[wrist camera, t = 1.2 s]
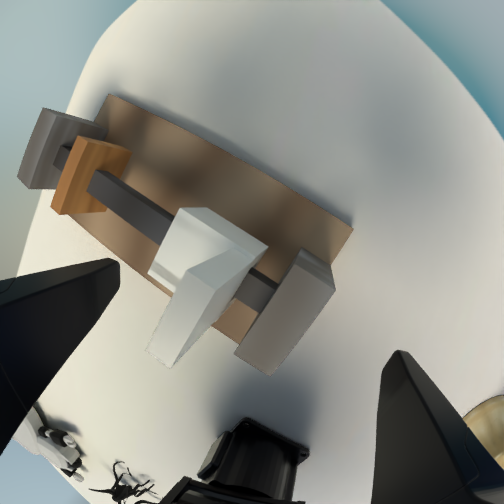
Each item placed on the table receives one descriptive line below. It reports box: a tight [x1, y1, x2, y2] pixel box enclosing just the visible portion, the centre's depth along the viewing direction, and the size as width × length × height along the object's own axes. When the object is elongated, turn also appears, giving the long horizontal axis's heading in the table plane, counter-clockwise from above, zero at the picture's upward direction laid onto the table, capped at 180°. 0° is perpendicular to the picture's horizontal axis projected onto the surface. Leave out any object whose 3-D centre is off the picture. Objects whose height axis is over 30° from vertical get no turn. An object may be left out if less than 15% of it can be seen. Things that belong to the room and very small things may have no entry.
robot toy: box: [12, 407, 84, 482], centre depth 27 cm, size 12×4×15 cm
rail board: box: [17, 94, 354, 377], centre depth 16 cm, size 20×10×7 cm, turn 59°
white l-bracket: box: [145, 207, 268, 369], centre depth 13 cm, size 4×4×8 cm
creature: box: [89, 462, 163, 504], centre depth 24 cm, size 8×5×8 cm
